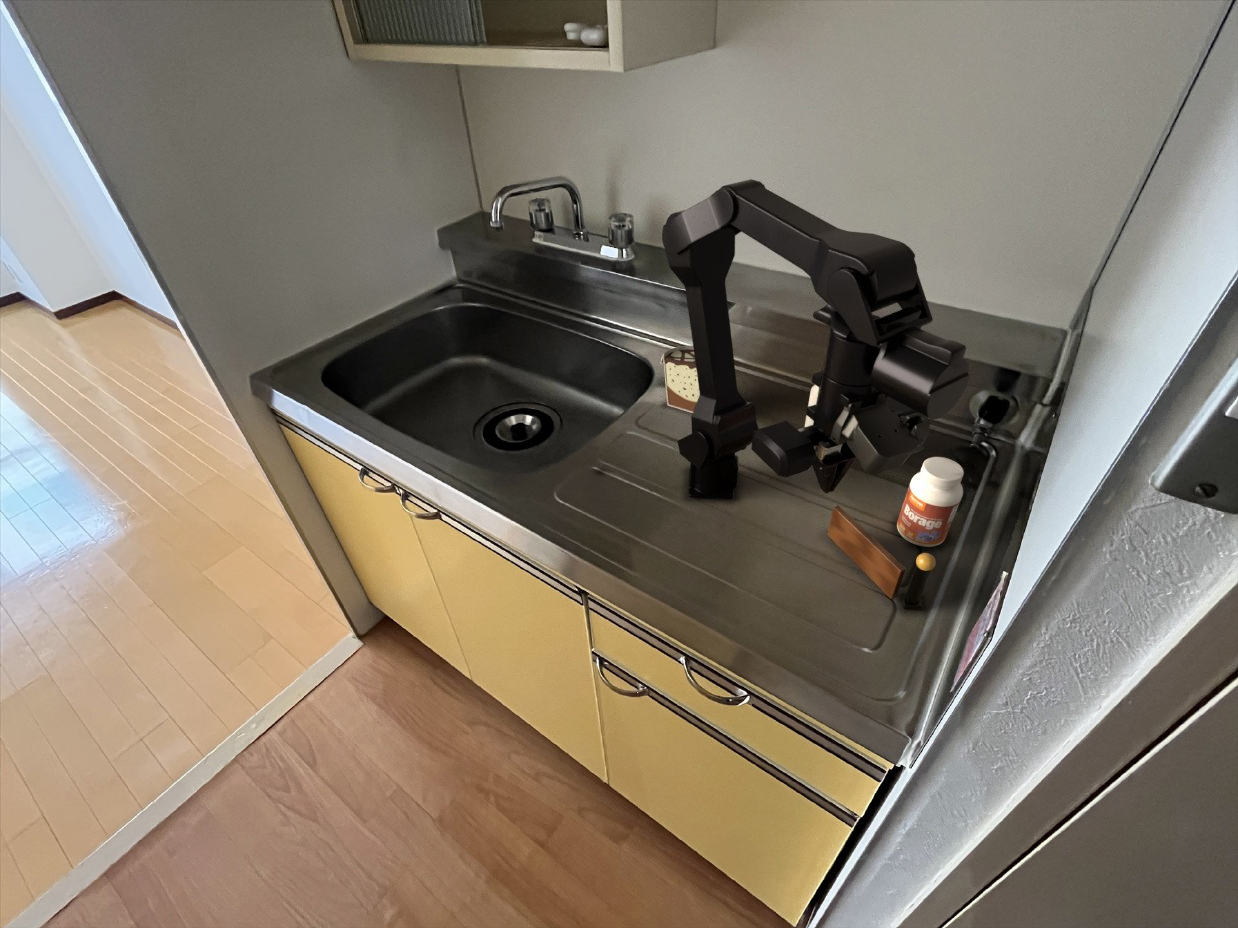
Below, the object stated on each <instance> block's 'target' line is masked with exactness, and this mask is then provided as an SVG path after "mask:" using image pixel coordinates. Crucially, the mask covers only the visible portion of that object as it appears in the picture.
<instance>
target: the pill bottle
mask: <svg viewBox="0 0 1238 928" xmlns="http://www.w3.org/2000/svg"><path fill="white" fill-rule="evenodd" d="M964 474H965V471H964V468H963V467H962V466H961V465H960V464H959V463H958V462H956V461H954V460H953V459H950V458H947V457H943V456H932V457H928V458H927V459H925V460H924V461H923V463H922V466H921V468H920V471H918V472H917V473H916V474H914V475H913V477H912V478H911V480H910V482H909V485H908V488H907V491H906V494H905V497H904V500H903V504H902V507H901V509H900V512H899V516H898V519H897V523H896V527H897V528H896V529H897V531H898V533H899V534H900V536H901V537H902V538H903V539H904V540H905V541H907V542H909V543H911V544H913V545H916V546H919V547H926V548H930V547H931V548H932V547H936V546H939V545H941V544H942V543H943V542H945V540H946V539H947V536H948V533H949V531H950V528H951V526H952V523H953V521H954V519H955V516H956V513H957V510H958V508H959V505H960V504H961V501H962V498H963V495H964V487H963V486H962V483H961V482H962V480H963V477H964Z"/></svg>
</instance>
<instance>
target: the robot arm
mask: <svg viewBox="0 0 1238 928" xmlns="http://www.w3.org/2000/svg"><path fill="white" fill-rule="evenodd" d="M741 233H743V234H745V235H746V236H748V237H749V238H750V239H752V240H753V241H756V242H757V243H758V244H760V245H762V246H764V247H765V248H767V249H768V250H770V251H772V252H773V253H774V254H776V255H778V256H779V257H781V258H783V259H784V260H786V261H787V262H789V263H791V264H792V265H793V266H795V267H797V268H799V269H800V270H802V271H803V272H804V273H805V274H807V276H808V277H809V278H810V281H811V284H812V286H813V290H814V292H815V293H816V294H817V295H818V297H819V298H820V299H822V300H823V301H824V302H825V303H826V305H824V306H823V307H821V308H820V309H818V310H815V311H813V313H812V318H813V319H814V320H817V321H818V322H821V323H823V324H825V325H826V326H829V330H828V336H827V342H826V348H825V353H824V358H823V362H822V363H823V364H822V369H821V371H817V372H814V373H812V378H811V383H812V384H813V385H816V386H818V387H819V391H818V396H817V402H816V405H812V406H809V407H808V406H807V407H806V414H805V415H806V416H808V417H809V418H811V419H812V420H813V421H814V422H813V425H810V426H807V427H805V426H804V427H801V428H798V429H797V428H796V427H795V426H794V425H793V424H791V423H790V422H789V421H788V420H785V421H784V420H783V421H780V422H777V423H773V424H770V425H767V426H763V427H761V428H759V425H758V422H757V407H756V405H755V403H754V402H751V401H748V400H746V398H745V397H744V396H743V395H742V393H741V392H740V391H739V389H738V382H737V375H736V373H737V372H736V365H735V356H734V348H733V347H734V346H733V338H732V328H731V322H730V312H729V304H728V294H727V283H726V281H727V277H728V274H729V271H730V269H731V268H732V267H731V266H732V264H733V261H734V259H735V256H736V236H737V235H738V234H741ZM661 242H662V245H663V247H664V251H665V255H666V259H667V263H668V267H669V269H670V270H671V271H672V272H673V274H674V275H675V276H676V278H677V279H678V280H679V281H680V283H681V284H682V285H683V286H684V290H685V298H686V304H687V305H686V306H687V311H688V312H687V313H688V318H689V325H690V326H689V327H690V333H691V334H690V335H691V339H692V345H693V348H694V355H695V362H696V370H697V377H698V384H699V392H700V395H699V398H698V401H697V403H696V406H695V408H694V411H693V413H691V416H690V417H691V418H690V419H691V433H690V434H688V435H686V436H684V437H682V438H680V439H678V440H677V446H678V451H679V455H681V456H682V457H683V458H684V459H685V460H687V461H688V462H689V463H690V464H689V469H688V489H687V490H688V491H687V495H688V497H689V498H693V499H694V498H695V499H714V500H715V499H717V500H733V499H734V489H737V487H738V478H739V477H738V475H739V456H738V455H736V453H738V452H740V451H744V450H746V449H747V447H748V446H750V445H751V447H750V449H751V450H752V452H753V453H754V454H756V456H758V458H760V459H761V460H762V462H764V463H765V465H767V466H768V467H769V468H770V469H771V470H772V471H773V472H774V473H775V474H776V476H778V477H782V478H788V477H789V478H790V477H792V476H796V475H798V474H802V473H805V472H808V471H809V469H811V468H812V469H813V471H814V474H815V478H816V480H817V482H818V485H819V489H820V490H821V491H822V492H823V493H824V494H829V493H832V492H834V491H835V489H836V488H837V487H838V485H839V484H840V483H841V482H842V480H843V479H844V477H845V476H846V474H848V471H849V470H850V469H851V468H852V466H853V465H854V464H855V463H856V462H857V460H858V462H859V464H860V467H861V469H862V470H863V471H864V472H865V473H867V474H868V475H870V476H872V475H873V476H876V475H879V474H882V473H883V472H886V471H888V470H892V469H894V468H897V469H898V468H900V467H902V466H903V465H904V463H905V462H906V461H907V460H908V459H909V458H910V456H911V455H913V454H916V453H919V452H922V451H924V450H925V442H926V440H927V438H928V436H929V433H930V428H931V420H938V419H940V418H942V417H944V416H946V414H948V413H949V412H951V410H953V408H954V407H955V406H956V405H957V404H958V402H960V400H961V398H962V396H963V395H964V393H965V391H966V390H967V388H968V386H969V383H970V381H971V377H972V374H971V373H970V371H971V367H970V366H971V364H970V362H969V361H968V359H966V358H964V357H965V354H966V351H967V346H966V345H965V344H963V343H961V342H959V341H955V340H953V339H948V338H947V339H946V338H943V337H940V336H938V335H936V334H933V333H931V332H929V331H926V330H924V329H922V327H924V326H927V325H930V324H931V323H933V319H934V318H933V315H932V312H931V309H930V307H929V304H928V303H929V302H928V299H927V297H926V294H925V291H924V288H923V285H922V282H921V279H920V276H919V273H918V266H917V263H916V253H915V251H913V250H912V248H911V247H910V246H908V245H907V244H906V243H905V242H902V241H901V240H897V239H893V238H891V237H887V236H883V235H881V234H880V235H879V234H877V233H870V232H861V231H860V232H859V231H851V230H846V229H842V228H839V227H836V226H835V225H833V224H832V223H829V222H828V221H826V220H823V219H822V218H821V217H819V216H817V215H815V214H813V213H811V212H809V211H807V209H804V208H802V207H800V206H798V205H796V204H794V203H793V202H791V201H789V200H787V199H786V198H784V197H782V196H780V195H778V194H777V193H774V192H773V191H772V190H769V189H767V187H766V186H765V184H763V182H761V181H759V180H756V179H752V178H750V179H746V180H742V181H738V182H733V183H730V184H725V185H722V186H721V187H720V188H719V189H717V190H715V191H714V192H713V193H712V194H711V195H709V196H708V197H707V198H705V199H703V200H700V202H697V203H695V204H694V205H692V206H690V207H689V208H688V207H687V209H684V210H680V211H675V212H672V213H670V214H669V216H668V217H667V219H666V222H665V224H663V225H662V231H661ZM895 304H898V306H899V307H900V308H901V309H900V310H897V311H894V312H891V313H889V314H886V315H884V316H879V315H877V314H874V312H877V311H880V310H882V309H885V308H887V307H890V306H892V305H895Z"/></svg>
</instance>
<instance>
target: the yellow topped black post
mask: <svg viewBox="0 0 1238 928" xmlns="http://www.w3.org/2000/svg"><path fill="white" fill-rule="evenodd" d="M915 563H916V565H915V568H914V570H913V573H912V576H911V579H910V581H909V583H908V584H909V585H908V587H907V590H906V592H903V591H902V592H901V593H900V596H899V597H900V601H901V605H902V608H903V610H907V611H908V610H910V611H922V609H923V602H922V600H921V598H922V596H923V593H924V590H925V588H926V586H927V582H928V579H929V578H930V575H931V572H932V570H933V569H934V568H935V567H936V564H937V561H936V558H935V557H934V556H933V555H932V554H930V553H928V552H922V553H920V554H918V555H917V557H916V560H915Z"/></svg>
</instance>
